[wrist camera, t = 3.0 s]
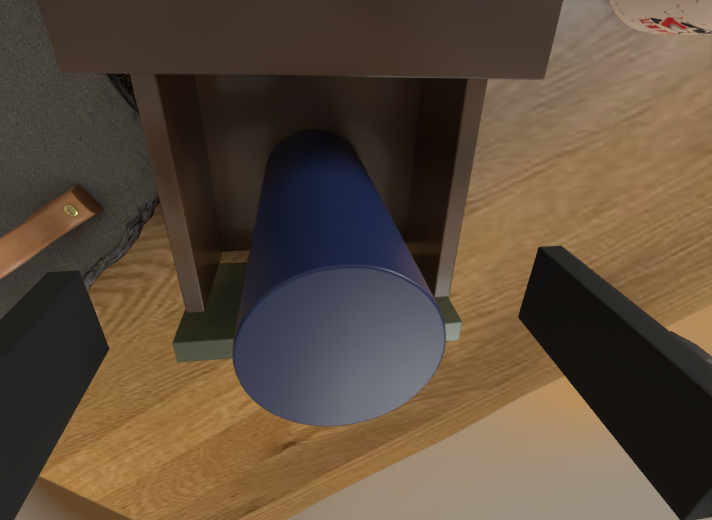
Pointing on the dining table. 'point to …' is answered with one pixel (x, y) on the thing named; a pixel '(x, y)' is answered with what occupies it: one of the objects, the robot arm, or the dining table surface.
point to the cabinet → (305, 37)
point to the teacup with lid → (665, 15)
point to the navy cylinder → (331, 293)
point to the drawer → (252, 150)
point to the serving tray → (64, 162)
